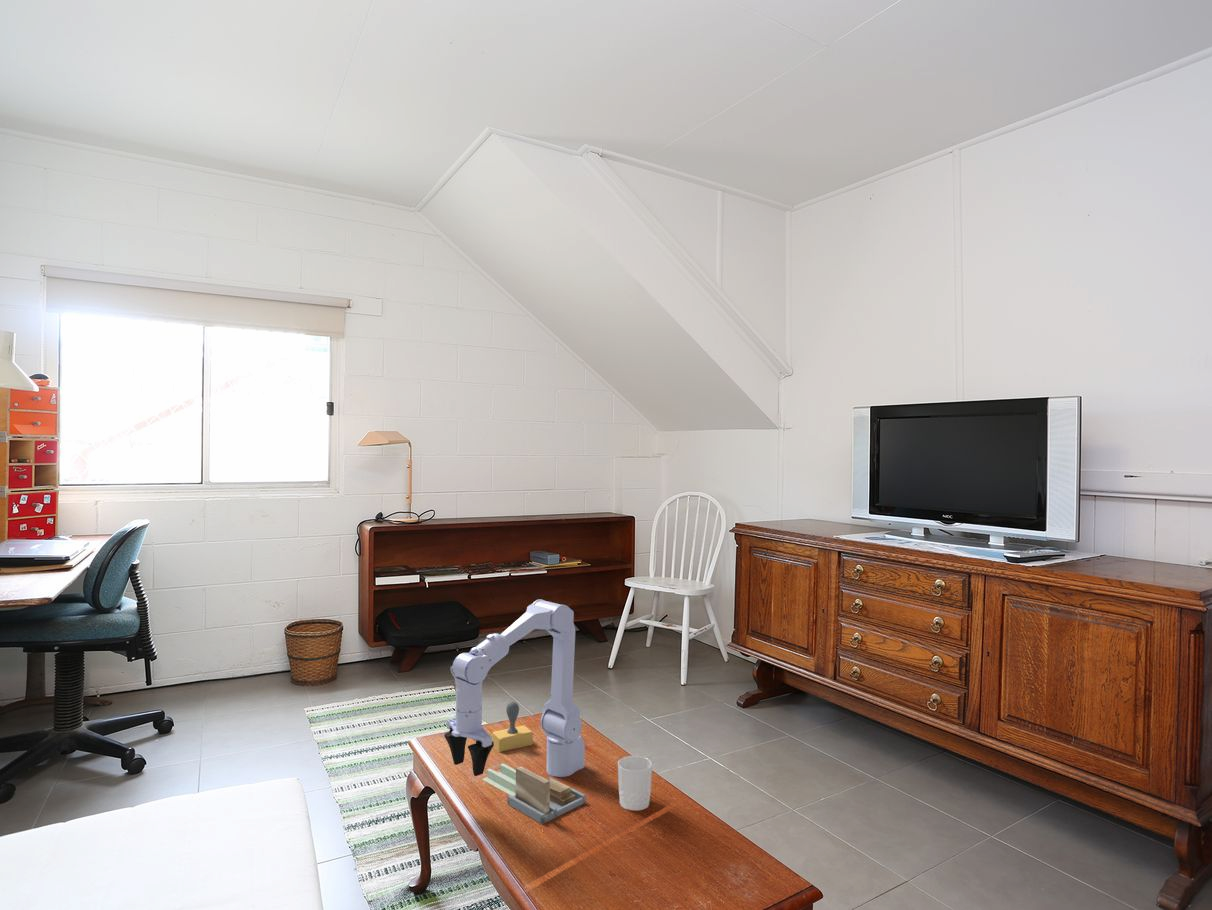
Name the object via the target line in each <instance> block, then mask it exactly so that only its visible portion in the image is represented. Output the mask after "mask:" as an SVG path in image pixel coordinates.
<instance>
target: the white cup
mask: <svg viewBox="0 0 1212 910" xmlns="http://www.w3.org/2000/svg"><path fill="white" fill-rule="evenodd" d="M652 769H653V762H652V760H650V759H648V758H647V757H645V756H640V755H628V756H624V757H621V758H620V759H618V760H617V781H618V782H617V783H618V794H619V795H618V797H619V804H620V806H621V807H622V808H623V809H625V810H627V811H642V810H645V809H647V808H649V805H650V802H651V801H650V800H651V799H650V797H651V792H652V791H651V790H652V789H651V788H652V775H653V774H652V771H653V770H652Z"/></svg>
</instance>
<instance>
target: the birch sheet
mask: <svg viewBox="0 0 1212 910" xmlns="http://www.w3.org/2000/svg"><path fill="white" fill-rule="evenodd" d="M515 770H516V798H517V799H519V800H520V801H522V802H524V803H526V804H528V805H529V806H531V807H533V808H535V809H536V810H538V811H540V812H542V813H544V814H545V815H546V814H548V813H549V811H550V781H549V780H548V778H544V776H542V775H541V776H540V775H539V774H537V773H535V772H533V771H532V770H529V769H527V768H525V767H523V766H518V767H516V768H515Z"/></svg>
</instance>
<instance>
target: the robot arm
mask: <svg viewBox="0 0 1212 910" xmlns="http://www.w3.org/2000/svg"><path fill="white" fill-rule="evenodd" d="M574 616H575V613H574V610H573V609H571V608H570V607H569V606H568V605H566V604H559V603H557V602H556V603H555V602H552V601H546V600H545V599H536V600H535V601H533V603H531V604H529V605H528V606H527V607H526V611H525V612H524V613H523V614H522V615H521V616H519V618H518V619H516V620H515V621H514V622H513V623H512V624H511V625H510V626H508V627H507V628H506V629H505V630H504V631H502V632H501V633H490V634H488V635H486V638H485V639H484V640H483V641H482V642H480V643H479V644H477V645H476V646H475V647H472V648H471V649H470V651H469V652H462V653H460V654H459V655H457V656H456V657H455V658H454V660H453V663H452V666H450V672H451V675H452V676H453V677H454V684H455V717H453V718H448V719H447V720H446V729H447V730H448V732H445V733H444V734H443V735H444V738H445V740H446V743H447V744H448V746H449V750H450V753H451V758H452V761H453V764H454V765H455V766H457V765H460V764H463V763H464V760H465V754H466V753H465V751H466V745H467V739H471V740H474V741H475V743H472V744H469V745H467V749H468V752H469V754H470V756H471V763H472V773H473V776H474V777H478V776H481V775H483V774H484V772H485V767H486V763H487V760H488V757H489V754H490V753H491V751H492V749H493V748H494V747H493V746H494V742H492V735H491V734H489V733H488V732H487V731H486V729H485V727H484V726H483V724H482V723H483V681H484V680H485V679H486V677H487V676H488V673H489V671H490V670H491V668H492V667H493V666H494V665H495V664H497V663H498V662H500V660H502V659H504V658H505V657H506V656H507V655H508V654H509V651H510V646H512V645H513V644H515V643H517V642H518V641H519V640H520V639H522V638H524V637H525V636H527V635H528V634H529V633H531V632H532V631H534V630H546V632H547V633H549V634H550V635H551V637H552V638H553V639H552V640H553V641H552V642H553V643H552V658H551V659H552V664H551V681H550V683H551V686H550V688H551V689H550V699H549V700H548V701H546V702H544V704H543V711H542V714H541V716H540V717H541V718H540V727H541V729H542V731H544V736H545V737H546V773H547V774H548V775H550V776H553V777H555V778H565V777H569V776H571V775H573V774H574V773H576V772H578V771H580V770H582V769H584V768H585V765H586V764H585V762H586V760H585V753H586V752H585V751H586V748H585V741H584V738H583V736H581V734H582V729H583V720H582V718H581V710H580V708H579V706H578V705H577V704H576V703H575V701H574V700H573V694H574V670H575V649H576V647H575V646H576V626H575V623H574V619H575V617H574Z"/></svg>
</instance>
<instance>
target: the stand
mask: <svg viewBox="0 0 1212 910" xmlns="http://www.w3.org/2000/svg"><path fill="white" fill-rule="evenodd" d="M481 780H483V781H484V782H486V783H488V784H490V785H491V786H493V787H495V788H497V789H498V790H501V791H502V792H503V793H505V794H508V796H509V795H512V796H515V795H516V768H513V767H511V766H509V765H507V764H505V763H501V764H499V771H495V770H493V769H492V768H488V769H486V777H483V778H482V779H481Z"/></svg>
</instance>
